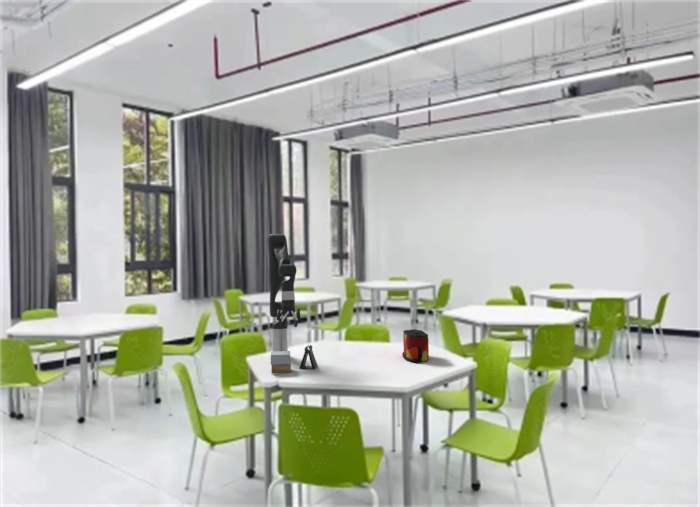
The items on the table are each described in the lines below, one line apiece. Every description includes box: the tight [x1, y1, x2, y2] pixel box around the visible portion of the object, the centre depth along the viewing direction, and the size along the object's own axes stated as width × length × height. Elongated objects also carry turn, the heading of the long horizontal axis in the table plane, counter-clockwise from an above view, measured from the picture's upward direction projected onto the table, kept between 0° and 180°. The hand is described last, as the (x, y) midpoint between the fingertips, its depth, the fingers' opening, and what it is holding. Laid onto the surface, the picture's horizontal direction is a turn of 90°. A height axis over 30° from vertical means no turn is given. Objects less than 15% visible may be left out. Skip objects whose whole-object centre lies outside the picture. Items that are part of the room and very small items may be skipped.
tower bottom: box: [271, 361, 292, 374], centre depth 277 cm, size 10×10×5 cm
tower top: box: [270, 350, 291, 366], centre depth 277 cm, size 10×10×5 cm
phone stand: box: [299, 344, 319, 370], centre depth 285 cm, size 9×6×12 cm, turn 81°
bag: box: [401, 329, 430, 364], centre depth 308 cm, size 30×14×16 cm, turn 4°
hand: (288, 327), depth 298 cm, fingers open, 8 cm apart
